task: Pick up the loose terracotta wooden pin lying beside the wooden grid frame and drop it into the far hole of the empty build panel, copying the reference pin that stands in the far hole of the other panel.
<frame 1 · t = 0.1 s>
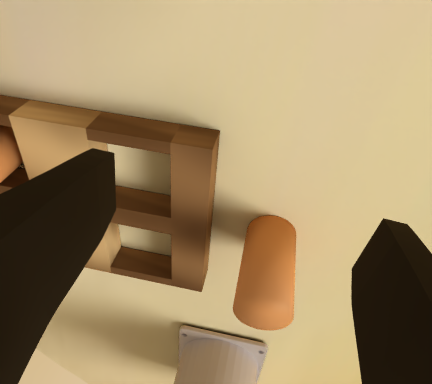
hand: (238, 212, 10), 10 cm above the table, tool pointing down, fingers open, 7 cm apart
reference pin: (8, 138, 23), resting in wooden grid frame
wooden grid frame: (82, 187, 24), on the table
loose pin: (271, 233, 24), on the table
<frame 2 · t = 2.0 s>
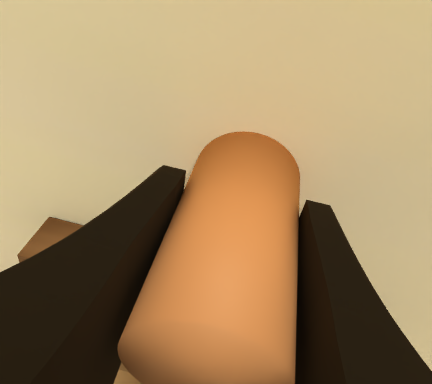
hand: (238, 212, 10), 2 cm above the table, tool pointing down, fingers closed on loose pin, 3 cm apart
wooden grid frame: (179, 363, 19), on the table
loose pin: (246, 178, 11), on the table, touching gripper
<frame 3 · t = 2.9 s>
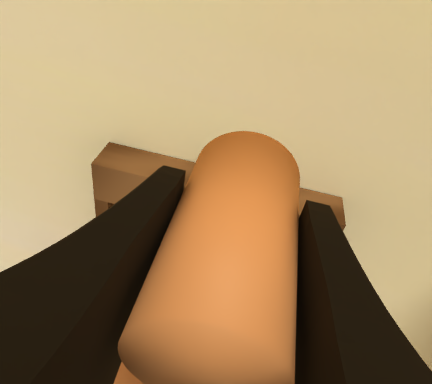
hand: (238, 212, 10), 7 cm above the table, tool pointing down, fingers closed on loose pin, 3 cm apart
reference pin: (154, 304, 27), resting in wooden grid frame
wooden grid frame: (201, 278, 24), on the table
loose pin: (246, 177, 11), point 6 cm above the table, touching gripper
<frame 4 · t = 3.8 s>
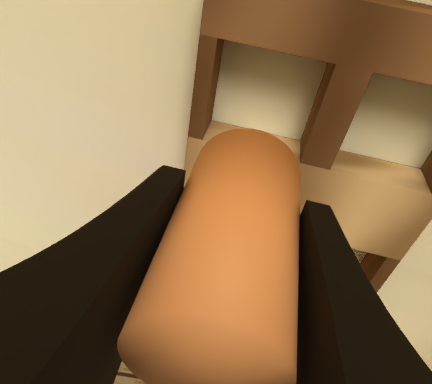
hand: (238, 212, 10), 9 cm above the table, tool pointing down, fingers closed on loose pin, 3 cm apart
wooden grid frame: (301, 178, 19), on the table
loose pin: (246, 175, 11), point 7 cm above the table, touching gripper
supplement box: (162, 299, 29), on the table
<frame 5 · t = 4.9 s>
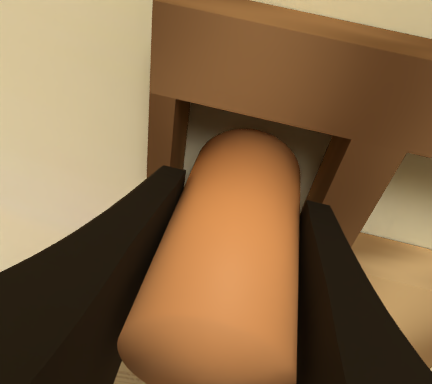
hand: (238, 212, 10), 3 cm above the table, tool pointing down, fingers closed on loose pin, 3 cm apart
wooden grid frame: (299, 259, 15), on the table
loose pin: (246, 175, 11), point 2 cm above the table, touching gripper
supplement box: (136, 369, 25), on the table
when the fingers open (3 cm above the table, at t = 5.9 s): loose pin drops 1 cm, resting in wooden grid frame.
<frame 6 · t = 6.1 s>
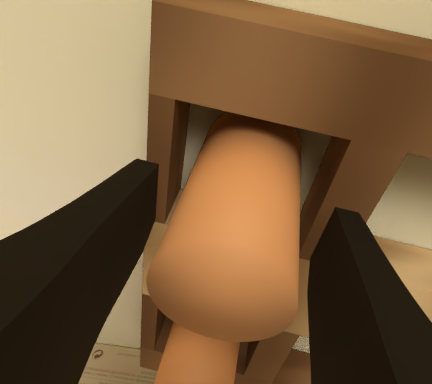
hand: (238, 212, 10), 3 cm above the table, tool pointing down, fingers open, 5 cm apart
reference pin: (213, 302, 18), resting in wooden grid frame
wooden grid frame: (299, 259, 15), on the table
loose pin: (252, 150, 12), resting in wooden grid frame
supplement box: (136, 369, 25), on the table
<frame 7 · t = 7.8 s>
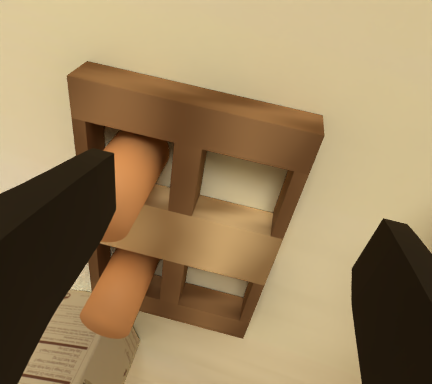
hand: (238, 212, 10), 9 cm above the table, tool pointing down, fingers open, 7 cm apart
reference pin: (139, 251, 26), resting in wooden grid frame
wooden grid frame: (185, 217, 23), on the table
loose pin: (142, 148, 21), resting in wooden grid frame
supplement box: (97, 312, 34), on the table
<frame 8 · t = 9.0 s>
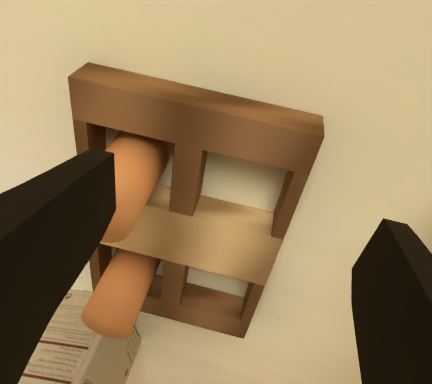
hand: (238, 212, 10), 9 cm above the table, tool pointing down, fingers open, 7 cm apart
reference pin: (140, 251, 27), resting in wooden grid frame
wooden grid frame: (185, 218, 24), on the table
loose pin: (143, 148, 21), resting in wooden grid frame
supplement box: (98, 312, 34), on the table
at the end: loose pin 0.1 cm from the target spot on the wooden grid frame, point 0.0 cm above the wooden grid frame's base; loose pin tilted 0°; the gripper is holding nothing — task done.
